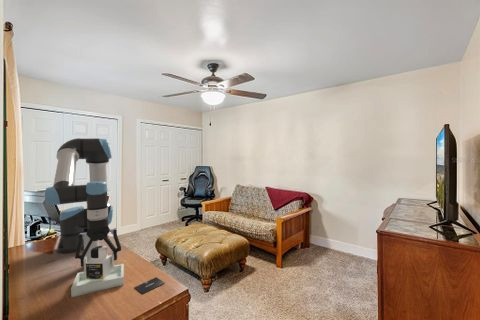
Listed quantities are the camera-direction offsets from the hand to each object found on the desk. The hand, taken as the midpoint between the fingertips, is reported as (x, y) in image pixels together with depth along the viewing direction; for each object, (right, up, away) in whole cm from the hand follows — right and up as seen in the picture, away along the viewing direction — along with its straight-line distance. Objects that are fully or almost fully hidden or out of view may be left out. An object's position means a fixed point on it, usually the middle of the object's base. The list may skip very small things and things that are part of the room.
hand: (99, 270), depth 99 cm
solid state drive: (+22, -6, -2) cm, 23 cm away
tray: (0, -5, 0) cm, 5 cm away
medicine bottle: (0, -2, 0) cm, 2 cm away
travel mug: (-13, -5, +16) cm, 21 cm away
